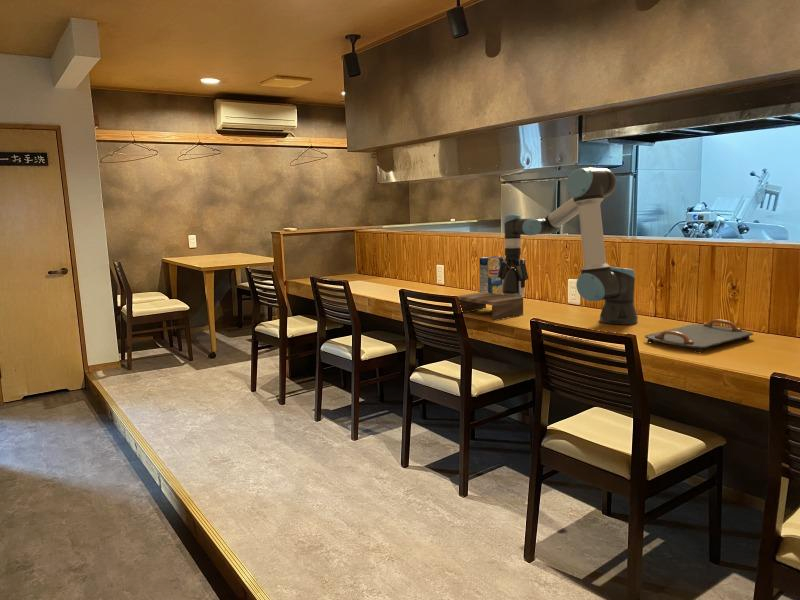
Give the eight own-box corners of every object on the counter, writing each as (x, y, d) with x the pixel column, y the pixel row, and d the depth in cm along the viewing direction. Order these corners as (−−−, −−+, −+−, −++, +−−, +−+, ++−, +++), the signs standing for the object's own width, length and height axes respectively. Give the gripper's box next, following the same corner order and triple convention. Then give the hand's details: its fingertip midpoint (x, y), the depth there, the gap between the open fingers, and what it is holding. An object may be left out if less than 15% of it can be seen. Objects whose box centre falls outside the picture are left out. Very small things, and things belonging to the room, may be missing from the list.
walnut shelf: (523, 314, 276) (523, 297, 274) (495, 320, 265) (495, 302, 264) (483, 307, 296) (483, 291, 295) (455, 312, 286) (455, 296, 285)
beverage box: (479, 298, 326) (479, 257, 322) (494, 296, 332) (494, 256, 328) (488, 299, 320) (487, 258, 317) (503, 297, 326) (503, 257, 323)
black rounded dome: (522, 297, 295) (522, 266, 293) (525, 300, 285) (524, 268, 283) (501, 298, 296) (501, 267, 294) (503, 301, 286) (502, 269, 284)
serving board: (698, 329, 238) (698, 314, 237) (759, 339, 219) (760, 323, 218) (637, 344, 217) (638, 327, 216) (699, 357, 198) (700, 338, 197)
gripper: (536, 247, 280) (536, 294, 283) (500, 246, 298) (501, 290, 301) (525, 248, 276) (525, 296, 279) (490, 247, 294) (490, 292, 297)
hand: (513, 293), depth 290 cm, fingers closed on black rounded dome, 10 cm apart
